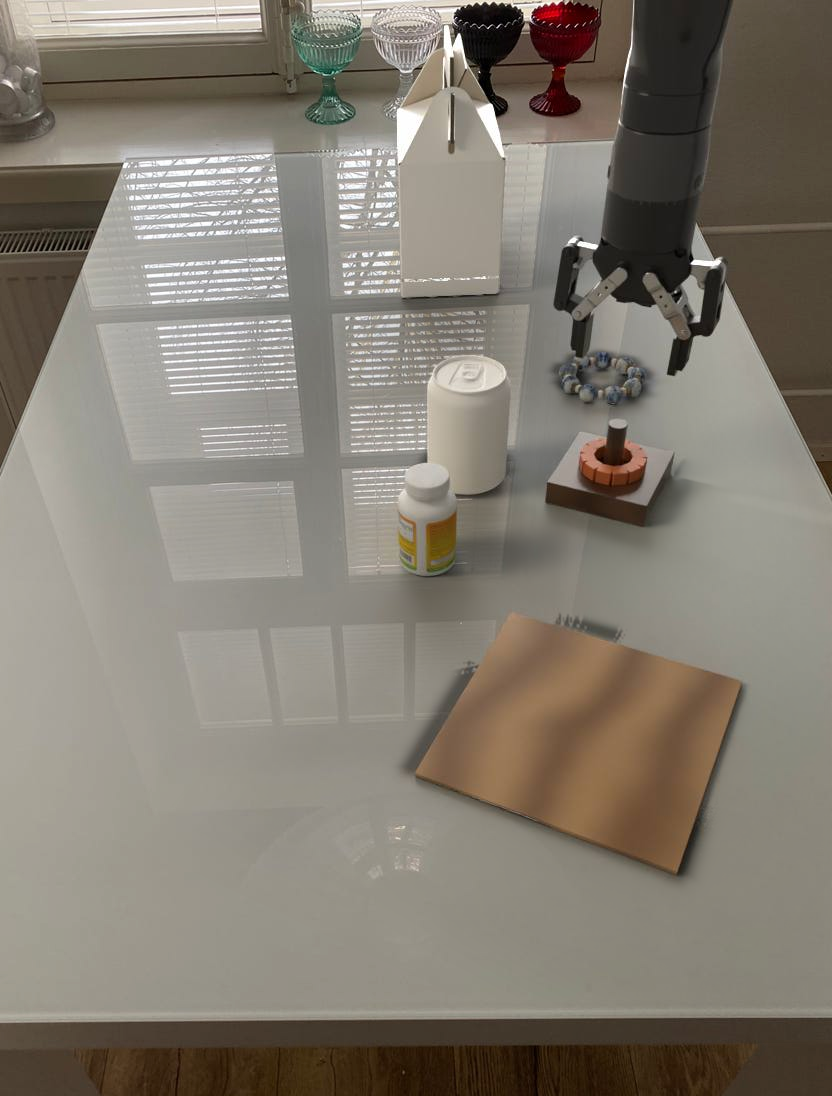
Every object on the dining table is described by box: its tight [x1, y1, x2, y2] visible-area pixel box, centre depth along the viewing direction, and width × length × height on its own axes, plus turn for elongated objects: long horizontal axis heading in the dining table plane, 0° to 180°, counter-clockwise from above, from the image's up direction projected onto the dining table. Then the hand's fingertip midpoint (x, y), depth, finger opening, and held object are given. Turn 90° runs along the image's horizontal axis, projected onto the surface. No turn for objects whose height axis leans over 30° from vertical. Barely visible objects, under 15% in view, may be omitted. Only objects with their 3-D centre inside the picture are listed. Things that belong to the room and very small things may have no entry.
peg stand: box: [544, 418, 676, 528], centre depth 98 cm, size 10×10×8 cm
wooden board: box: [414, 611, 743, 876], centre depth 78 cm, size 20×20×1 cm
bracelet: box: [558, 351, 646, 404], centre depth 115 cm, size 10×10×2 cm
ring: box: [579, 438, 647, 486], centre depth 99 cm, size 6×6×1 cm
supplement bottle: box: [397, 462, 458, 577], centre depth 91 cm, size 5×5×10 cm
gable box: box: [396, 25, 507, 297], centre depth 132 cm, size 22×13×28 cm, turn 179°
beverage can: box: [426, 354, 512, 496], centre depth 100 cm, size 8×8×12 cm
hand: (626, 362), depth 91 cm, fingers open, 8 cm apart
